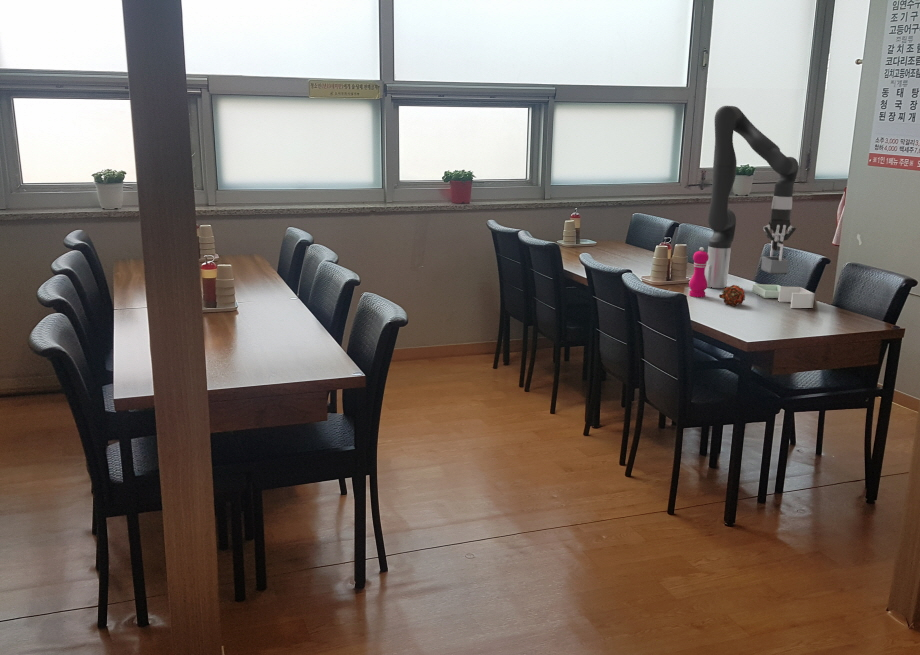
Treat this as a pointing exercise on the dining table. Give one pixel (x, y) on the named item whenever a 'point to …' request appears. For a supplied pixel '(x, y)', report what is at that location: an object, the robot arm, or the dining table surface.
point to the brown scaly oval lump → (733, 295)
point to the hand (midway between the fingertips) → (776, 250)
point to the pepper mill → (699, 274)
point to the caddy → (775, 262)
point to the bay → (796, 297)
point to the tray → (767, 290)
